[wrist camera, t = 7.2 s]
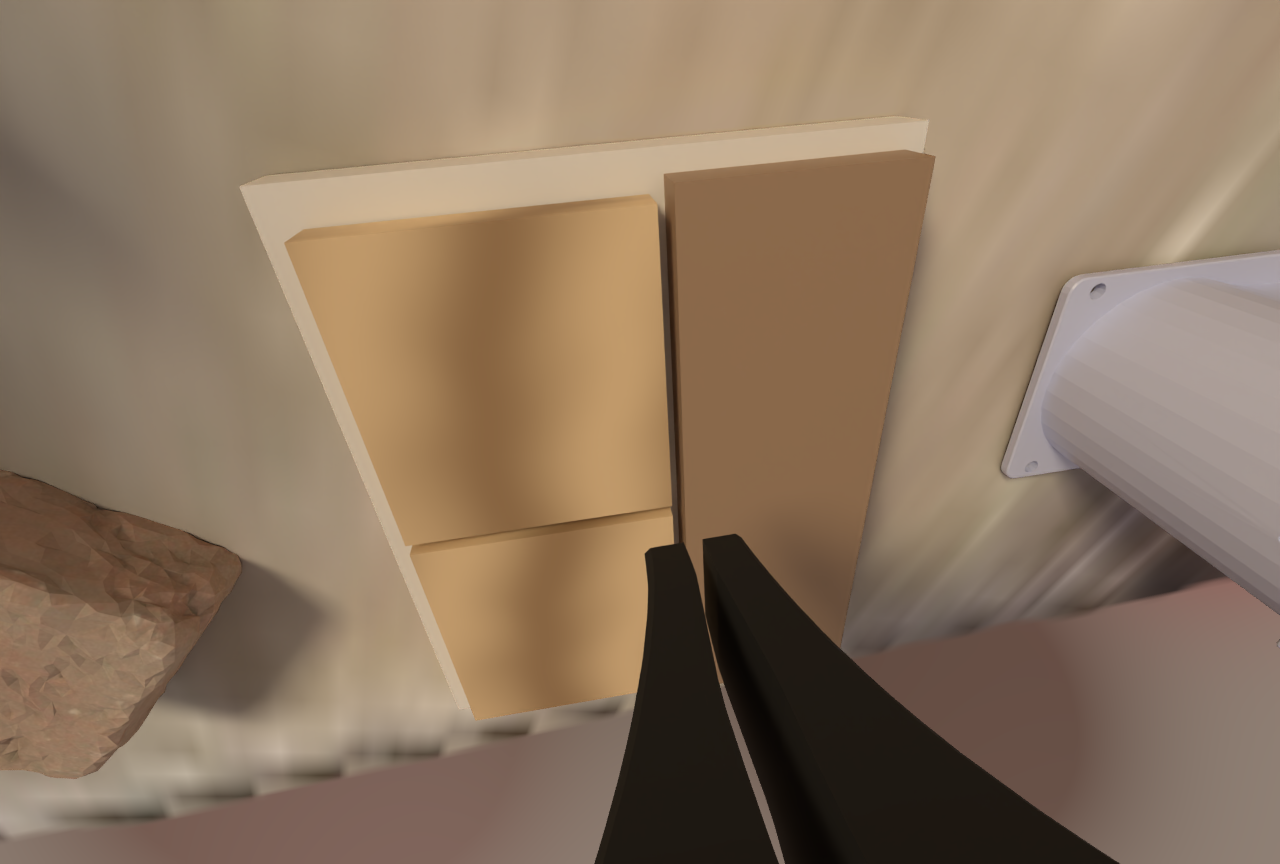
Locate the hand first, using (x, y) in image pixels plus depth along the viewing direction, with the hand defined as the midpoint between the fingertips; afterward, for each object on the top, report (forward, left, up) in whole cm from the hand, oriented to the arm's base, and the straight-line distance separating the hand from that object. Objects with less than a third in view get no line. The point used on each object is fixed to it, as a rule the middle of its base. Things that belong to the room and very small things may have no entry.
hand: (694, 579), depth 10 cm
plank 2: (+3, +8, -7) cm, 12 cm away
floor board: (0, +4, -9) cm, 10 cm away
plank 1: (+3, -1, -7) cm, 8 cm away
